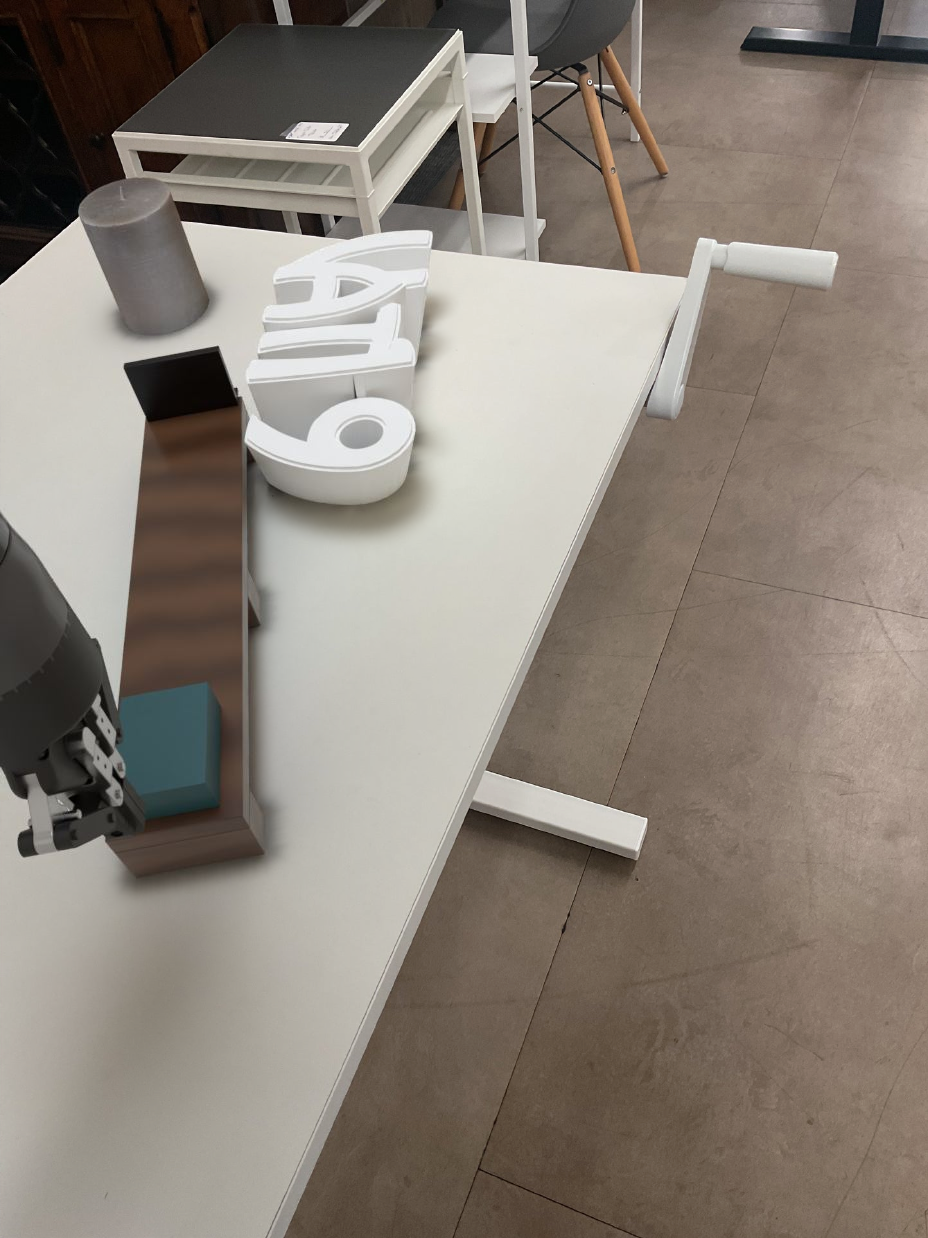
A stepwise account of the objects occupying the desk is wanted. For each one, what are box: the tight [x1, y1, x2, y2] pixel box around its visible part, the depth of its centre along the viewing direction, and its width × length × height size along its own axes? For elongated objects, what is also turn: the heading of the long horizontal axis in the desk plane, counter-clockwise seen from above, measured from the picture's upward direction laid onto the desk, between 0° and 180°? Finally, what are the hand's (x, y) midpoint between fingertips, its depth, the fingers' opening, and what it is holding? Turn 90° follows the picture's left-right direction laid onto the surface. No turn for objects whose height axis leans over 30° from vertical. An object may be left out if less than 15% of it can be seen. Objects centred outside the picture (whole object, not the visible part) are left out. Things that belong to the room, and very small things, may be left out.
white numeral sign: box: [245, 229, 434, 506], centre depth 95 cm, size 35×16×11 cm, turn 175°
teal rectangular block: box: [116, 682, 221, 820], centre depth 67 cm, size 8×6×3 cm
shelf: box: [104, 395, 266, 879], centre depth 81 cm, size 44×9×6 cm, turn 8°
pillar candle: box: [77, 176, 210, 337], centre depth 108 cm, size 10×10×15 cm
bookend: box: [123, 345, 239, 422], centre depth 90 cm, size 2×8×6 cm, turn 98°
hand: (128, 824), depth 57 cm, fingers closed
